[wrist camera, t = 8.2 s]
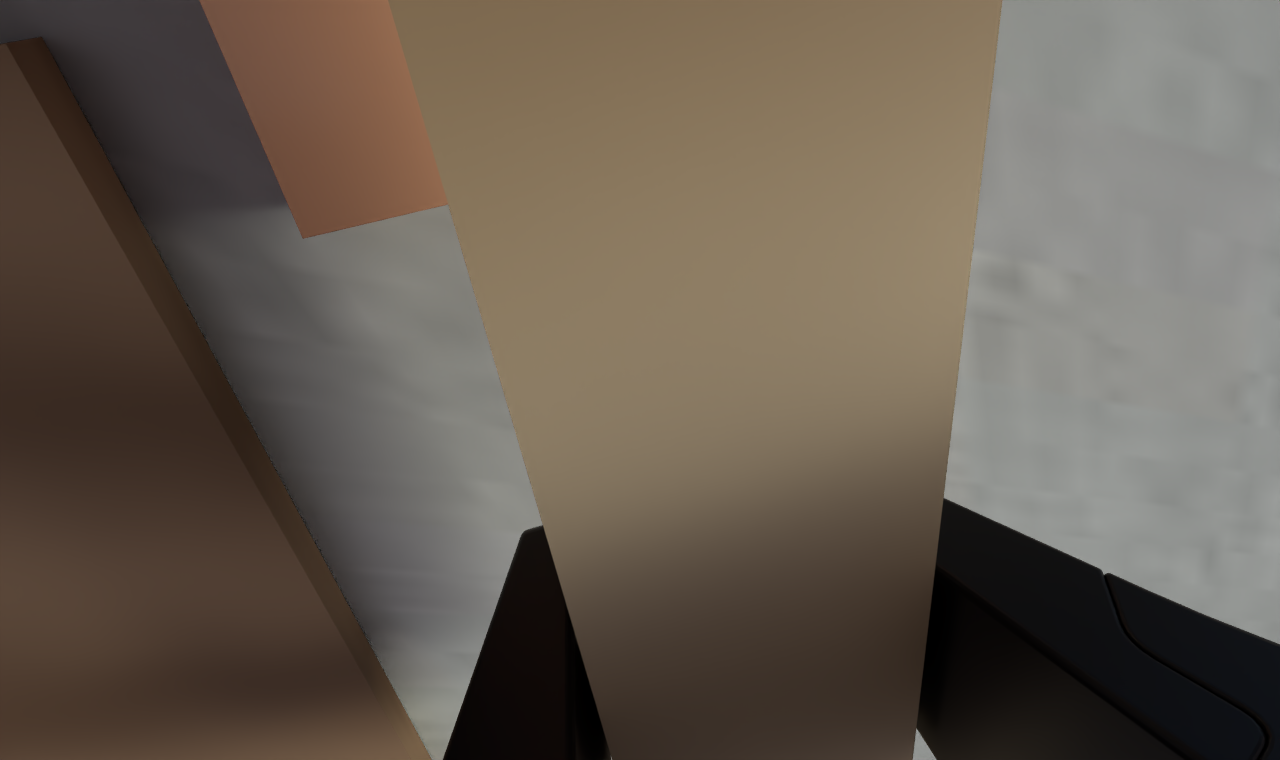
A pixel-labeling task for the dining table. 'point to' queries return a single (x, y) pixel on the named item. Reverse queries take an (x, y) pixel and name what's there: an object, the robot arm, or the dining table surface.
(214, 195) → the dining table surface
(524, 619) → the robot arm
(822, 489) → the oak scraper
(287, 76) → the glazed tile
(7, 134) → the rest board
